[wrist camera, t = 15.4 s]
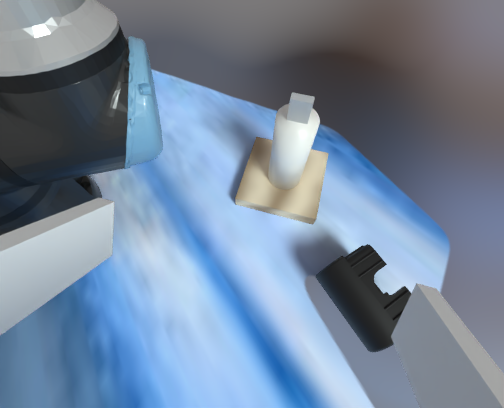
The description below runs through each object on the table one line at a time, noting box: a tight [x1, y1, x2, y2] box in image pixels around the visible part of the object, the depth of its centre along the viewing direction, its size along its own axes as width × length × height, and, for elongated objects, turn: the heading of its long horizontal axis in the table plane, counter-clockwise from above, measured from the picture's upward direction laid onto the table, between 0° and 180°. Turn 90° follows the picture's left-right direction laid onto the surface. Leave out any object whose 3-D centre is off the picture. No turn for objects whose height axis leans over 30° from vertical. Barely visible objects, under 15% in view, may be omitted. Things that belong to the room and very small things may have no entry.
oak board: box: [235, 137, 328, 224], centre depth 43 cm, size 12×12×2 cm
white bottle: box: [268, 93, 320, 190], centre depth 35 cm, size 5×5×15 cm
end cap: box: [316, 244, 411, 352], centre depth 33 cm, size 10×7×7 cm
